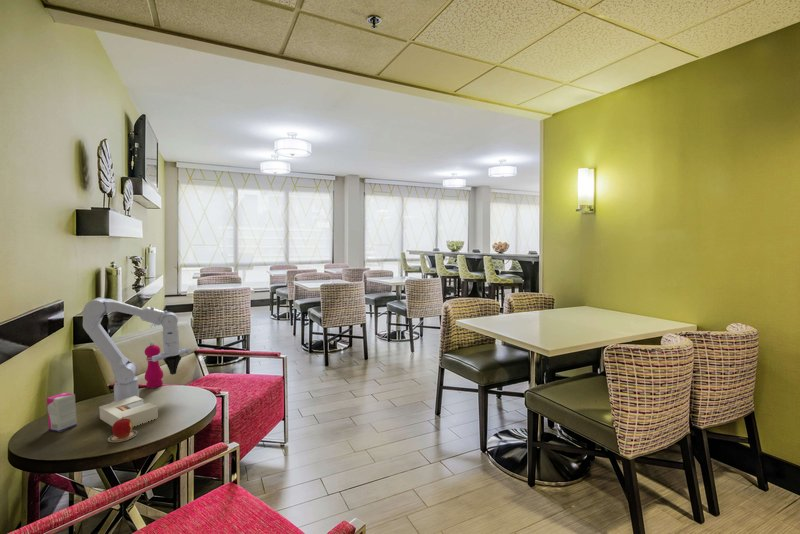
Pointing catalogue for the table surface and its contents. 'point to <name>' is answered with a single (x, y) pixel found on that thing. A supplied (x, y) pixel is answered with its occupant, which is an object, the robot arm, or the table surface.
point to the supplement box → (61, 412)
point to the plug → (134, 405)
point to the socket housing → (128, 411)
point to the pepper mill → (153, 367)
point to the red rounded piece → (122, 431)
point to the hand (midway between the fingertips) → (173, 373)
